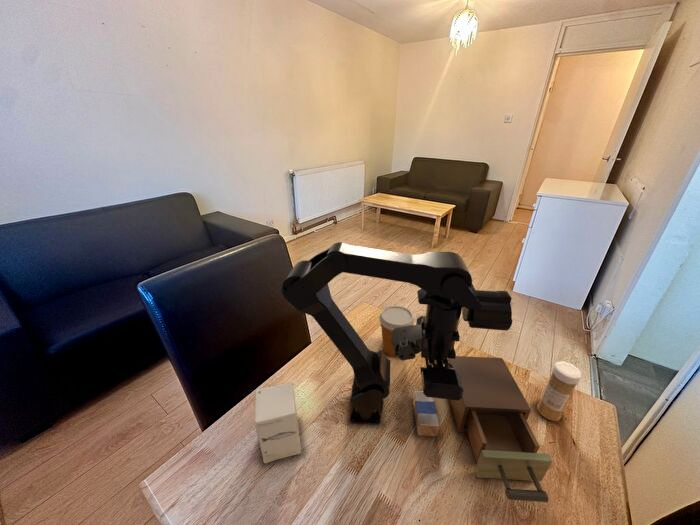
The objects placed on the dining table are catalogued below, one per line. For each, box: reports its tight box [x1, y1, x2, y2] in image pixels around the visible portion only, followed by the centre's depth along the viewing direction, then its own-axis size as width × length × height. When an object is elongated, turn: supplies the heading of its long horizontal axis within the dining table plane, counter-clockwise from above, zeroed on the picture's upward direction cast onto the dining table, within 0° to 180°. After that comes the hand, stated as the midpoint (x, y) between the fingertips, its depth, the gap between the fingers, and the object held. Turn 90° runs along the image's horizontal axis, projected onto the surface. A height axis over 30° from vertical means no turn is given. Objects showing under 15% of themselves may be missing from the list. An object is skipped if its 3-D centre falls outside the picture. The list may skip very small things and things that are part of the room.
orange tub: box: [378, 305, 416, 357], centre depth 79 cm, size 10×10×12 cm
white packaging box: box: [254, 381, 302, 464], centre depth 55 cm, size 7×7×13 cm
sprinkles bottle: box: [536, 361, 583, 422], centre depth 61 cm, size 5×5×13 cm
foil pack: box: [412, 390, 440, 437], centre depth 62 cm, size 8×4×4 cm, turn 177°
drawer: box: [465, 409, 553, 503], centre depth 53 cm, size 17×11×6 cm, turn 177°
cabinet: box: [448, 355, 532, 433], centre depth 64 cm, size 14×13×8 cm
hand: (430, 383), depth 58 cm, fingers open, 4 cm apart
